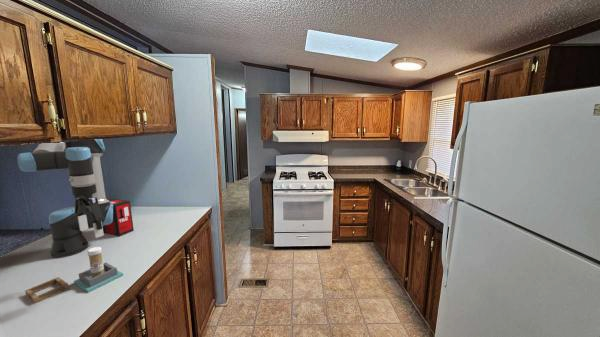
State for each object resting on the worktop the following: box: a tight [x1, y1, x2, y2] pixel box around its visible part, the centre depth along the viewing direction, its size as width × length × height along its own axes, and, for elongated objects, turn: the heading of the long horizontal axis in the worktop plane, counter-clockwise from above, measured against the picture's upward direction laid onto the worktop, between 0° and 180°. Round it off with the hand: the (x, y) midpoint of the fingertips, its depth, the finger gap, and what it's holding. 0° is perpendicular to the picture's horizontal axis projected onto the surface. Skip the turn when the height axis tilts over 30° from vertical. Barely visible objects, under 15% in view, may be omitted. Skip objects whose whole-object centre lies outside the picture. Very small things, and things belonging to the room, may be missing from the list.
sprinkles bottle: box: [87, 246, 104, 278], centre depth 106 cm, size 5×5×14 cm
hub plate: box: [73, 262, 124, 293], centre depth 107 cm, size 13×13×4 cm
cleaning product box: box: [102, 198, 135, 237], centre depth 154 cm, size 16×9×20 cm, turn 70°
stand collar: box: [24, 276, 70, 304], centre depth 99 cm, size 10×10×2 cm
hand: (91, 233), depth 104 cm, fingers open, 13 cm apart
